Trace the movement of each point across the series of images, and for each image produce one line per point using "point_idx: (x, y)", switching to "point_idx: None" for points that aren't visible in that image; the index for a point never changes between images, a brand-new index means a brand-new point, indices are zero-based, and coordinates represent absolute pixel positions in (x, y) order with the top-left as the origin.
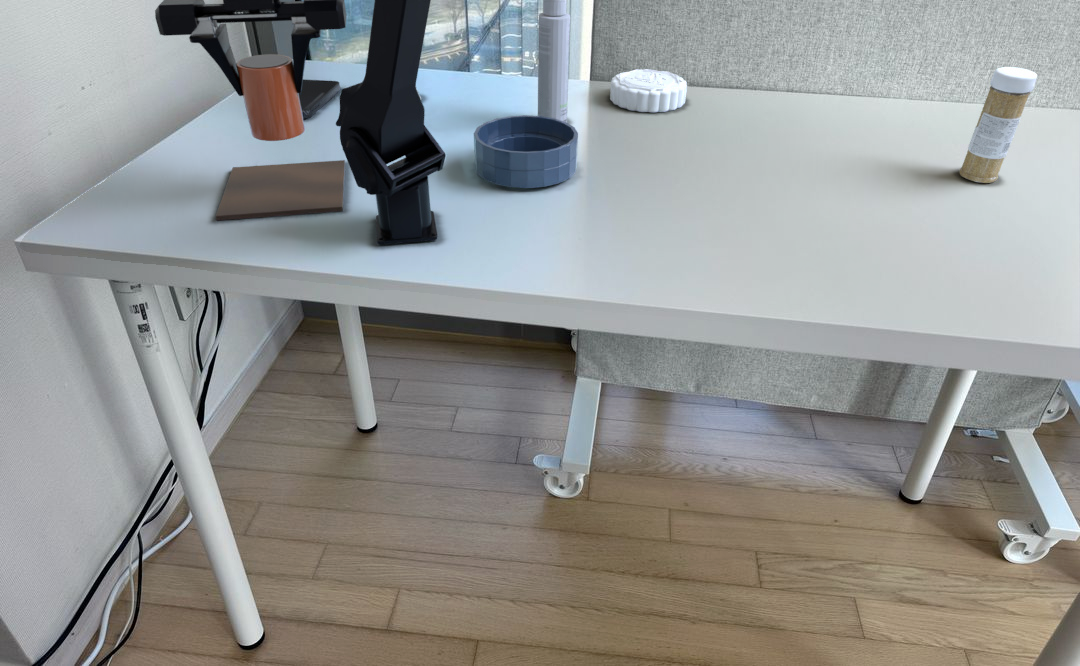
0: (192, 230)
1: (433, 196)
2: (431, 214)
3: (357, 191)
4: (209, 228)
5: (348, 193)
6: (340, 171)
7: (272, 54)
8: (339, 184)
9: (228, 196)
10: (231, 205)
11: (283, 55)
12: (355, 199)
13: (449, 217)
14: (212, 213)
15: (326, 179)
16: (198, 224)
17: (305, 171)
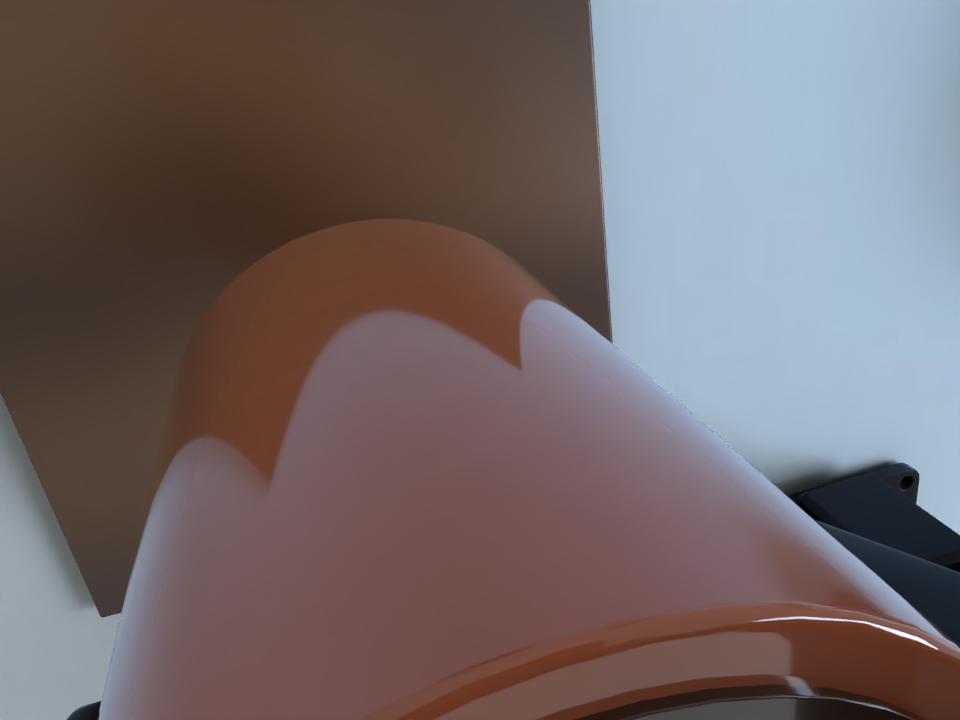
0: (36, 682)
1: (933, 310)
2: (910, 494)
3: (656, 278)
4: (105, 656)
5: (619, 300)
6: (578, 96)
7: (710, 709)
8: (589, 265)
9: (56, 435)
10: (126, 523)
11: (923, 662)
12: (651, 356)
13: (947, 463)
14: (40, 543)
15: (519, 205)
16: (32, 637)
17: (382, 93)
